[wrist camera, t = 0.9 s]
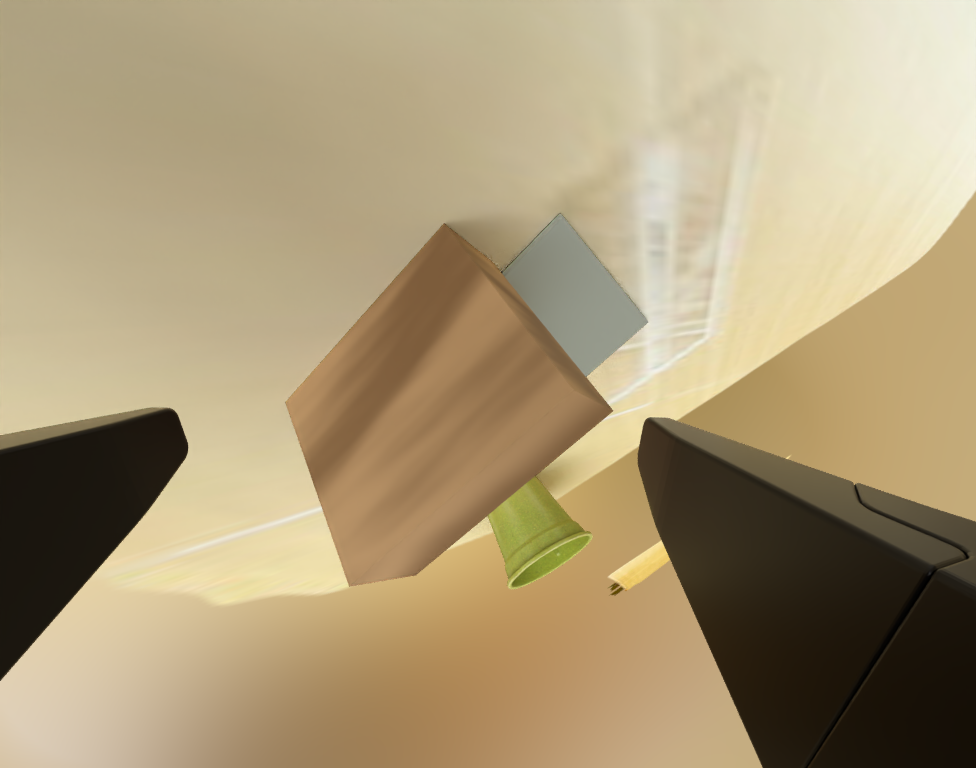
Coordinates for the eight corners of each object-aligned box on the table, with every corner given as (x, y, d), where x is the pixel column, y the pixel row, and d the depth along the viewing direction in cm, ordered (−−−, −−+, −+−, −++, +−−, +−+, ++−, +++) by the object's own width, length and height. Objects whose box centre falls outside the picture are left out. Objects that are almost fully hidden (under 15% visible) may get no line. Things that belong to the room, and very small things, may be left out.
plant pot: (449, 516, 48) (490, 598, 43) (510, 458, 44) (561, 541, 40) (504, 510, 55) (543, 579, 50) (560, 460, 51) (608, 530, 47)
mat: (319, 460, 29) (321, 464, 29) (559, 213, 23) (563, 216, 23) (468, 475, 42) (470, 478, 42) (646, 319, 36) (648, 322, 36)
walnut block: (285, 401, 24) (349, 586, 19) (443, 222, 20) (573, 390, 15) (351, 415, 27) (420, 574, 22) (496, 264, 24) (616, 412, 19)
